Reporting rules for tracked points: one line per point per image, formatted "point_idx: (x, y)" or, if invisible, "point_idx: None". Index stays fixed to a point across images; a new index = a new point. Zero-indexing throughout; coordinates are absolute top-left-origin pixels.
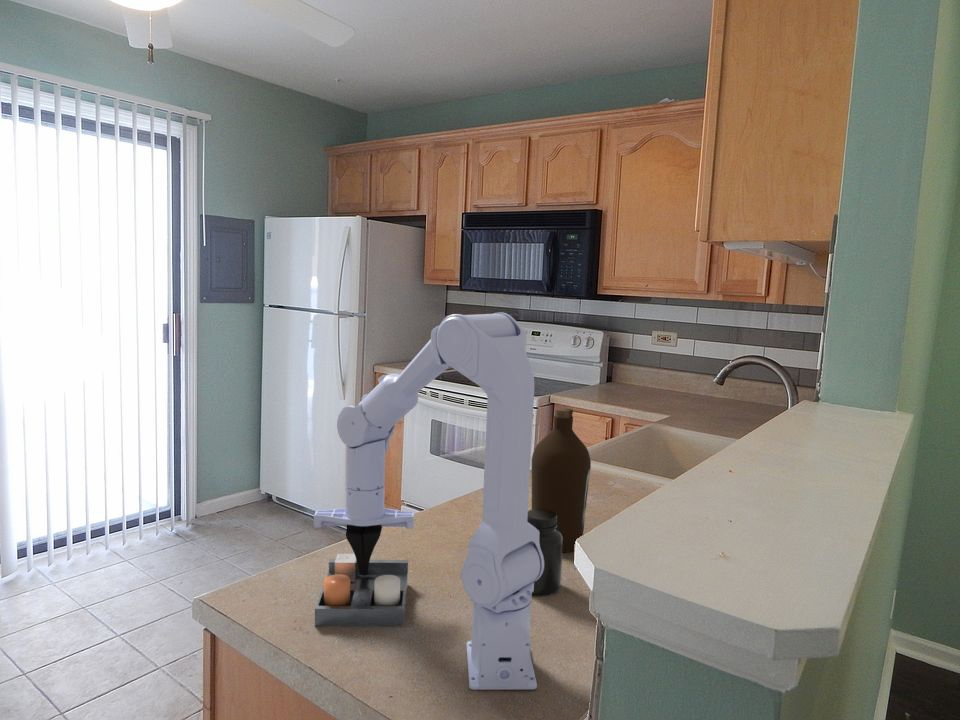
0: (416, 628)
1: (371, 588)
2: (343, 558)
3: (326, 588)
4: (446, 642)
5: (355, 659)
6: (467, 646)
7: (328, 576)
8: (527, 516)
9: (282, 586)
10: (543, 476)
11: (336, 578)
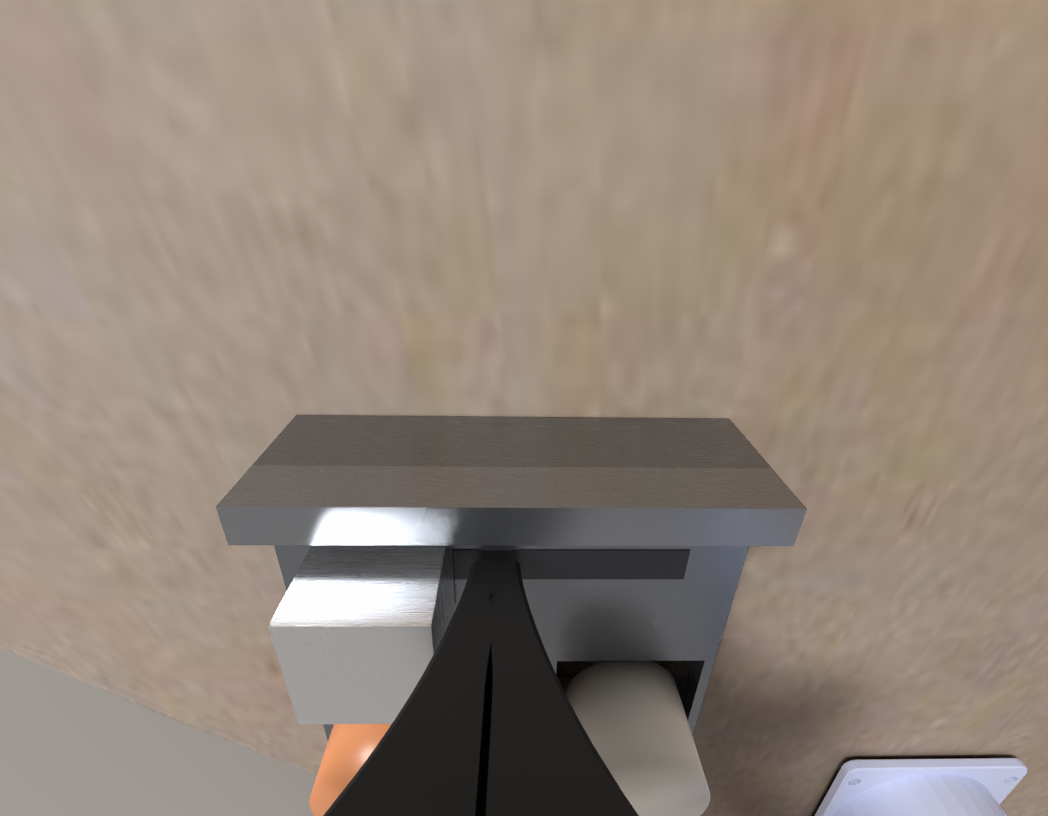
0: (708, 696)
1: (548, 650)
2: (340, 683)
3: None
4: (787, 744)
5: None
6: (842, 787)
7: (319, 784)
8: None
9: (50, 439)
10: None
11: None
